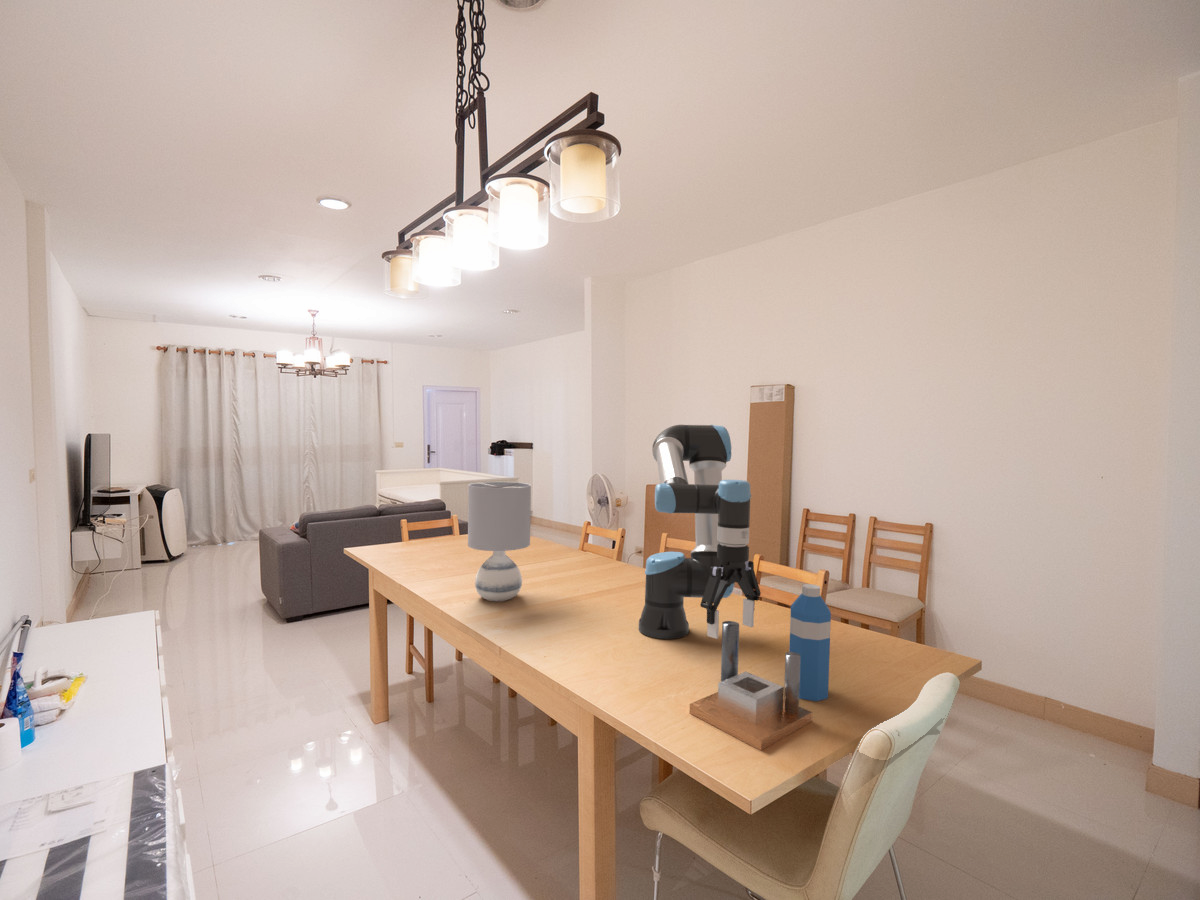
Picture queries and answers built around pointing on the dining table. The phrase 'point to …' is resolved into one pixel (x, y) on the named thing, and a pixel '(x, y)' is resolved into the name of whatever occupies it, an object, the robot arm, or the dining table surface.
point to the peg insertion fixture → (756, 706)
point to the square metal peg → (729, 649)
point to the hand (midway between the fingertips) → (730, 631)
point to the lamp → (499, 534)
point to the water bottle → (811, 642)
